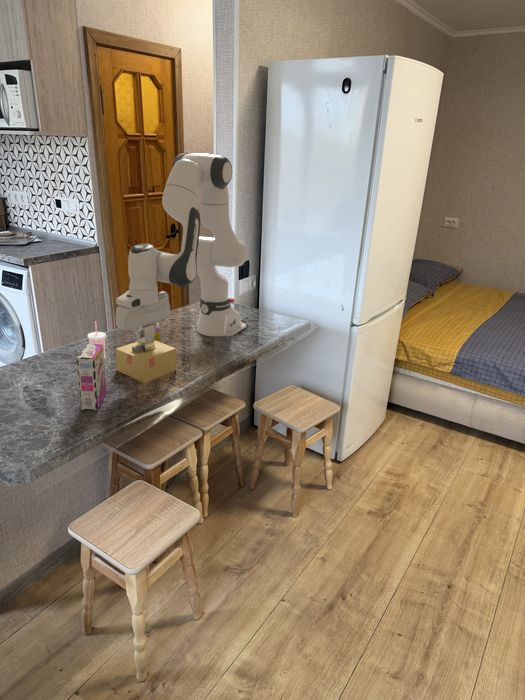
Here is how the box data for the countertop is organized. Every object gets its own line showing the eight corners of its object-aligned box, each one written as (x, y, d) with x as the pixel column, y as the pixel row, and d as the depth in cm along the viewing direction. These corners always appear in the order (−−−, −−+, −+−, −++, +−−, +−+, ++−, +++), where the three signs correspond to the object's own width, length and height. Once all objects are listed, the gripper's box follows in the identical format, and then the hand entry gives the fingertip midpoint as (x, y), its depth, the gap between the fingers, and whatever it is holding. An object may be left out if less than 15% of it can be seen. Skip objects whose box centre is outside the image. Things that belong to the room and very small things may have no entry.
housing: (149, 358, 175) (148, 334, 171) (176, 369, 167) (176, 344, 163) (116, 370, 164) (114, 344, 160) (144, 383, 156) (143, 356, 153)
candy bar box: (98, 411, 139) (94, 358, 132) (80, 410, 138) (75, 358, 132) (107, 393, 149) (103, 343, 143) (91, 392, 149) (86, 343, 142)
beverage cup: (96, 353, 176) (93, 317, 171) (111, 356, 175) (108, 319, 169) (85, 359, 171) (82, 322, 165) (100, 362, 169) (97, 325, 164)
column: (147, 365, 168) (145, 321, 162) (155, 368, 166) (154, 324, 160) (138, 369, 165) (135, 324, 159) (146, 372, 163) (144, 327, 157)
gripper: (161, 288, 165) (162, 326, 170) (111, 300, 150) (114, 341, 155) (174, 292, 162) (175, 330, 167) (124, 304, 146) (127, 346, 152)
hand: (145, 336), depth 161 cm, fingers open, 4 cm apart
